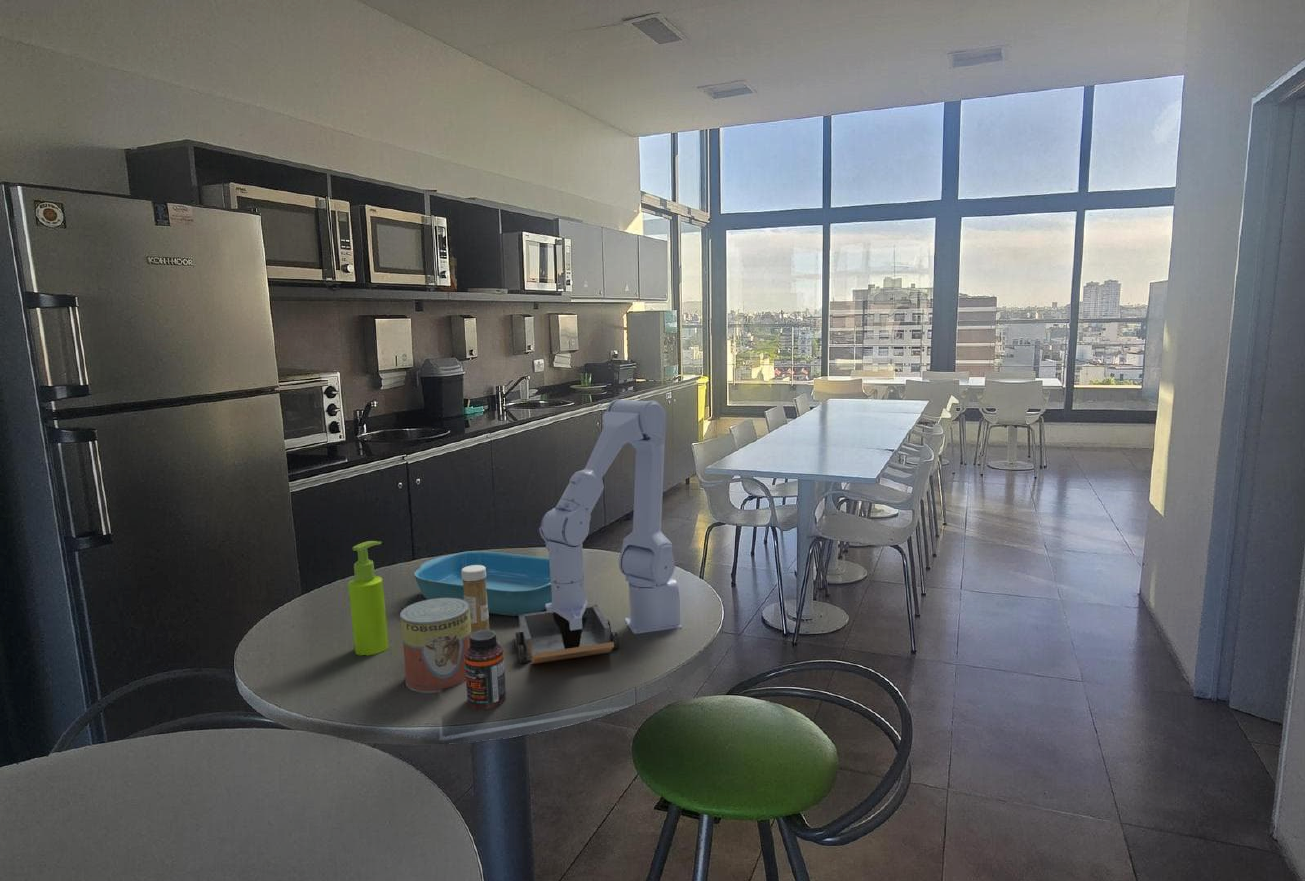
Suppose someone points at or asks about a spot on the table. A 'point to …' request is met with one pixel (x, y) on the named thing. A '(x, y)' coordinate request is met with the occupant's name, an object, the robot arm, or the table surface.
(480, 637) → the supplement bottle
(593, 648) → the panel
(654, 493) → the robot arm
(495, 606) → the casserole dish
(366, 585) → the soap dispenser
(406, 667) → the canned food
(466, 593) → the sprinkles bottle
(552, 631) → the trailer
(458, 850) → the table surface
